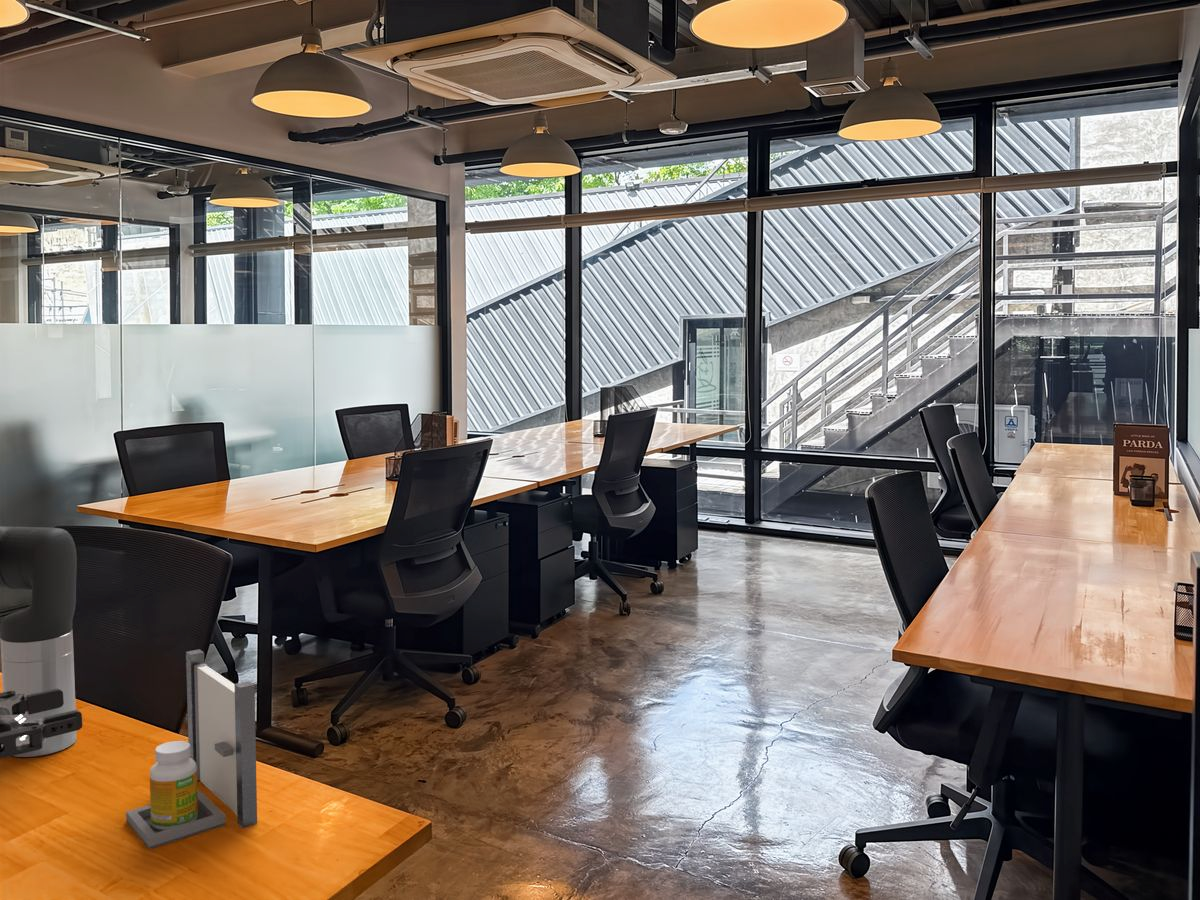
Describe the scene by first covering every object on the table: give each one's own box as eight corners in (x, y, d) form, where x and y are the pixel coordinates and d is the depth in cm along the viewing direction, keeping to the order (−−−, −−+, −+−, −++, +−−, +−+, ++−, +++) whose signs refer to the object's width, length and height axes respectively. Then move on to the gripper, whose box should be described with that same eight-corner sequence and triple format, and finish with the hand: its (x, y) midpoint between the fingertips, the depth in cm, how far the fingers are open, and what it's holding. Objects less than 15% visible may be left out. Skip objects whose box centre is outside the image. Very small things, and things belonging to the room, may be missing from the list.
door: (185, 780, 127) (182, 667, 126) (207, 774, 129) (204, 662, 128) (226, 820, 116) (224, 696, 115) (249, 813, 118) (247, 691, 117)
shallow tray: (126, 821, 117) (126, 811, 117) (199, 799, 123) (199, 790, 123) (149, 849, 110) (148, 838, 110) (225, 824, 116) (225, 815, 116)
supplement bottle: (179, 834, 113) (177, 757, 112) (141, 829, 114) (138, 753, 113) (207, 814, 118) (205, 740, 118) (169, 809, 120) (168, 736, 119)
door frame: (189, 777, 130) (185, 651, 128) (202, 773, 131) (199, 649, 129) (243, 828, 116) (240, 687, 114) (257, 823, 117) (254, 684, 115)
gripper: (-93, 735, 93) (86, 694, 104) (-110, 694, 103) (54, 661, 114) (-87, 806, 94) (90, 758, 105) (-105, 758, 104) (58, 719, 115)
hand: (71, 707), depth 109 cm, fingers open, 8 cm apart
